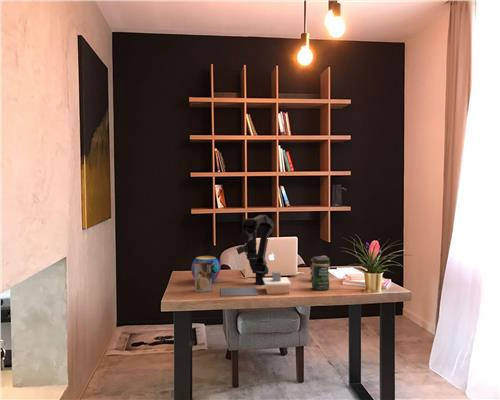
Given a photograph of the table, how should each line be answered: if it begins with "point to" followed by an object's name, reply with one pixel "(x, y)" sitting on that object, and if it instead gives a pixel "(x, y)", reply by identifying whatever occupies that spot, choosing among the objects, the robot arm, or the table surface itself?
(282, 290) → the open box
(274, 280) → the lid
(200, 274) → the coffee box
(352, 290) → the table surface
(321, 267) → the coffee jar
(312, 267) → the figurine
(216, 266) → the ceramic pot
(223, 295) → the mat
